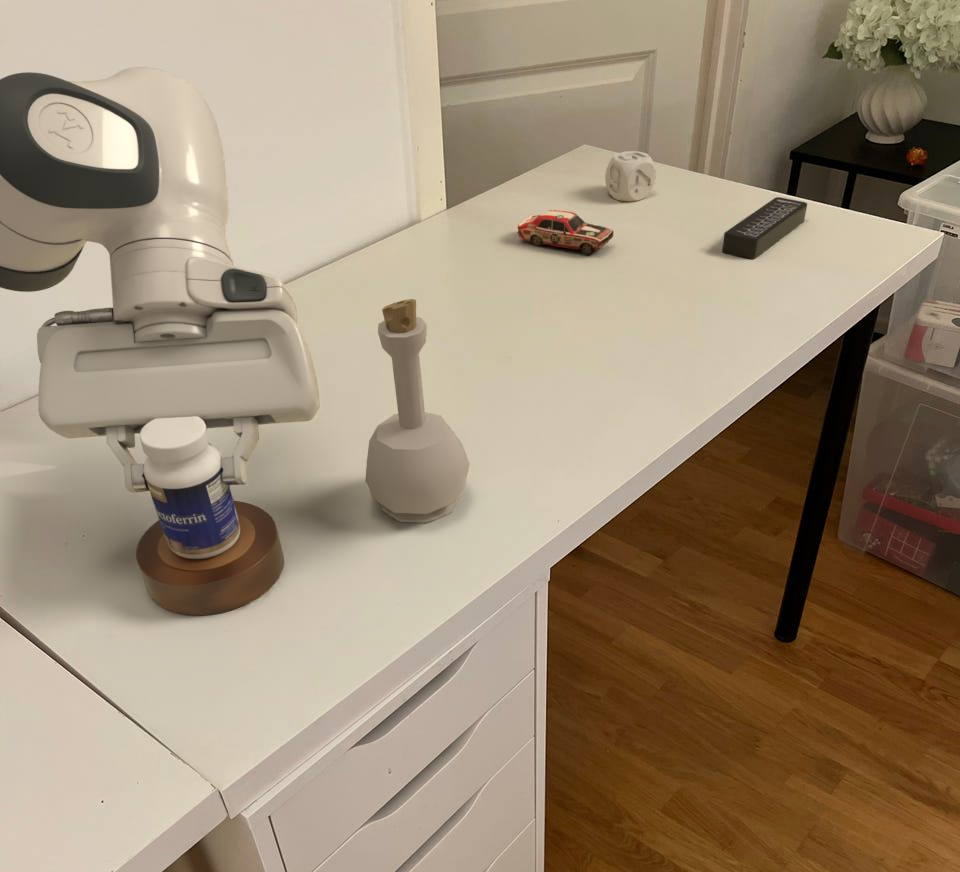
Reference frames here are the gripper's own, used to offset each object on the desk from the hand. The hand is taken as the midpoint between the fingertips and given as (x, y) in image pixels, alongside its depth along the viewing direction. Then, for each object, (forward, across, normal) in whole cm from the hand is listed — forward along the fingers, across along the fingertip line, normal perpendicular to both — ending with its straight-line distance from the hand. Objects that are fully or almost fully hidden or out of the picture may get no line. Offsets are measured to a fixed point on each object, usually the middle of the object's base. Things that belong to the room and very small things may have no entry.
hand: (187, 487), depth 72 cm
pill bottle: (+4, 0, +4) cm, 6 cm away
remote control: (-36, +61, +48) cm, 86 cm away
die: (-49, +47, +61) cm, 91 cm away
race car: (-38, +36, +50) cm, 72 cm away
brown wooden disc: (+6, 0, +6) cm, 9 cm away
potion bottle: (0, +17, +12) cm, 21 cm away
